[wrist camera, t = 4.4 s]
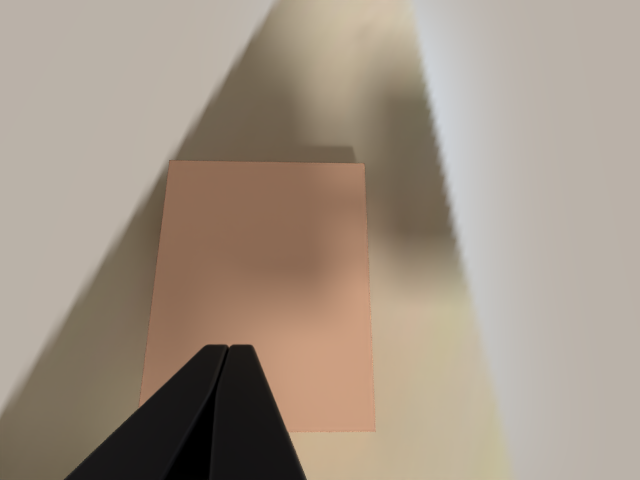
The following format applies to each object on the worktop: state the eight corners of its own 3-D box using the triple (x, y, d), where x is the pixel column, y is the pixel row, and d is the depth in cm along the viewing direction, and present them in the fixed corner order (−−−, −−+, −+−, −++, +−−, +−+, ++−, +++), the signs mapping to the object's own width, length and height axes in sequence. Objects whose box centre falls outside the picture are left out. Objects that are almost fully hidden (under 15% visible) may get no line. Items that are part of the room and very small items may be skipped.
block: (375, 431, 14) (364, 163, 17) (135, 432, 13) (169, 160, 16) (365, 428, 16) (357, 189, 19) (156, 429, 15) (184, 187, 18)
